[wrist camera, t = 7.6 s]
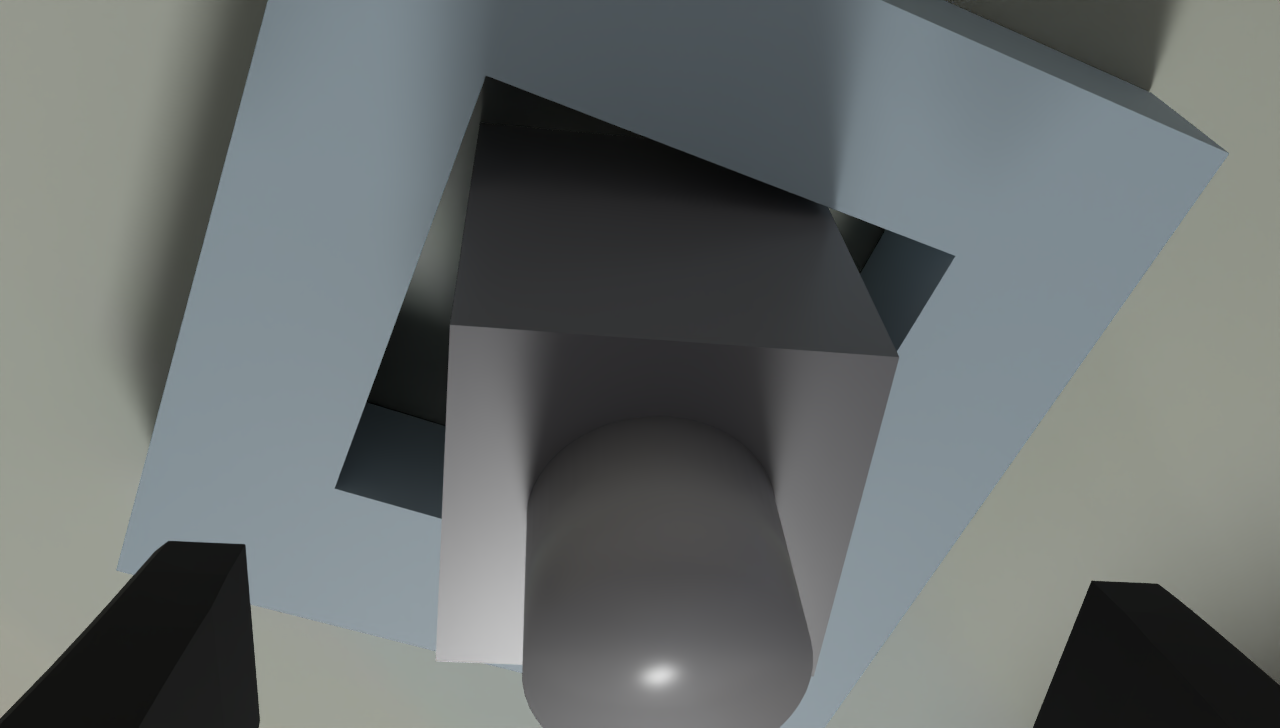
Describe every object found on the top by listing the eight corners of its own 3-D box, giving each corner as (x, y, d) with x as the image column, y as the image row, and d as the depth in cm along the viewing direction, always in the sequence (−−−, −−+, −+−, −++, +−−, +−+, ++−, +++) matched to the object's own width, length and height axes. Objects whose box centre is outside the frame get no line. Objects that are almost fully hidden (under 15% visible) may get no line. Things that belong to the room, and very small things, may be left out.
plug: (480, 121, 15) (428, 461, 9) (801, 151, 15) (965, 494, 9) (466, 397, 17) (416, 826, 11) (748, 415, 17) (854, 836, 11)
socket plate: (361, -261, 12) (332, -242, 11) (1151, 93, 15) (1228, 153, 13) (159, 475, 17) (115, 570, 15) (788, 648, 19) (811, 746, 18)
